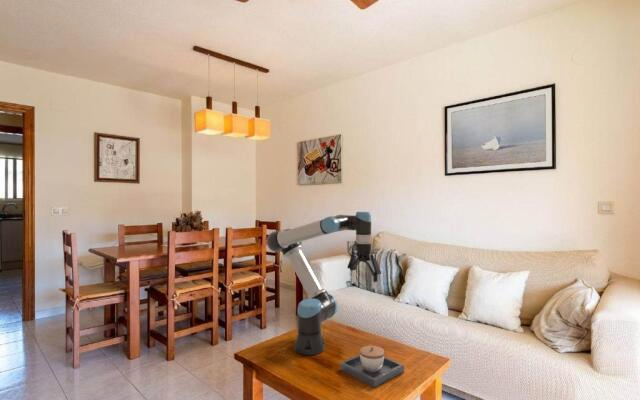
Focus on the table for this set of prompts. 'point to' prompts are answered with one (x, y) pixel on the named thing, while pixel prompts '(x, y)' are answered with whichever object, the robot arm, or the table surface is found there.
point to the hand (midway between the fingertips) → (363, 285)
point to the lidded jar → (372, 358)
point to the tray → (372, 378)
